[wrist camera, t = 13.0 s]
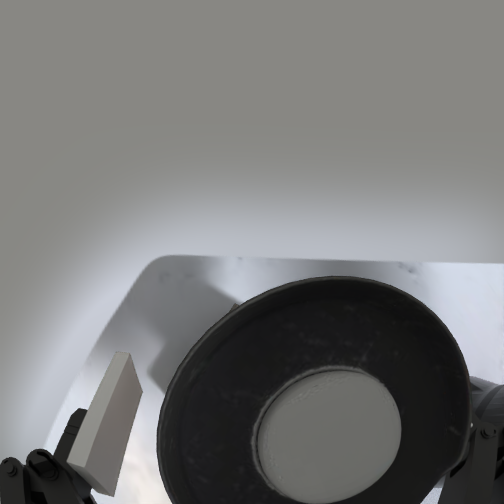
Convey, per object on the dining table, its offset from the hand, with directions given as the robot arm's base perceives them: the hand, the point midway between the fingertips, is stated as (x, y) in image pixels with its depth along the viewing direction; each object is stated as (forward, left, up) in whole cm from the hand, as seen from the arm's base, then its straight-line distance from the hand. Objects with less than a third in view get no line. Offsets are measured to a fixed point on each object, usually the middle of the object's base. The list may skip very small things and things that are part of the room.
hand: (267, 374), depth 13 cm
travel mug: (-1, +1, -12) cm, 12 cm away
